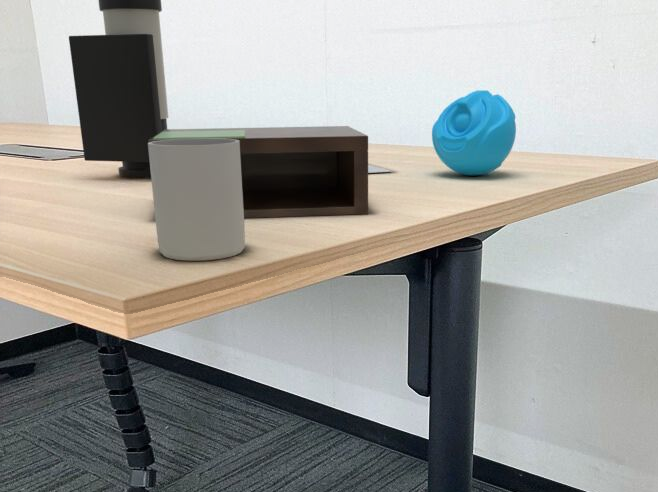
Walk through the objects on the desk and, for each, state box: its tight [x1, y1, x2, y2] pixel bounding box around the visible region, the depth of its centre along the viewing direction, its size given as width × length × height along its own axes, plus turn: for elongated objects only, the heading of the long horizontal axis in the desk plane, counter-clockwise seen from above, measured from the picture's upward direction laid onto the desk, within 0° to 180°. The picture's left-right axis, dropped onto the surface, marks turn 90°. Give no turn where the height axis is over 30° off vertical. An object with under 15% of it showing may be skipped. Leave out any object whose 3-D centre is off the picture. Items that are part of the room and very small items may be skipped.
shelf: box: [148, 125, 369, 219], centre depth 84 cm, size 22×16×8 cm
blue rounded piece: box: [431, 89, 517, 177], centre depth 106 cm, size 12×11×12 cm
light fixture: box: [68, 0, 169, 179], centre depth 107 cm, size 12×11×25 cm
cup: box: [148, 138, 246, 262], centre depth 62 cm, size 7×10×9 cm
